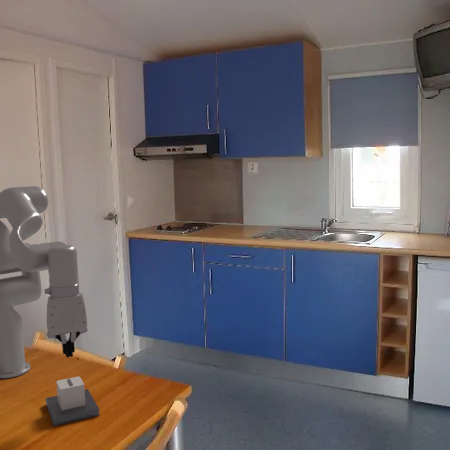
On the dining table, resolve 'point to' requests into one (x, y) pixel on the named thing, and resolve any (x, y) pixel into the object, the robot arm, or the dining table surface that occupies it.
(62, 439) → the dining table surface
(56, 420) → the plate
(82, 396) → the knob
